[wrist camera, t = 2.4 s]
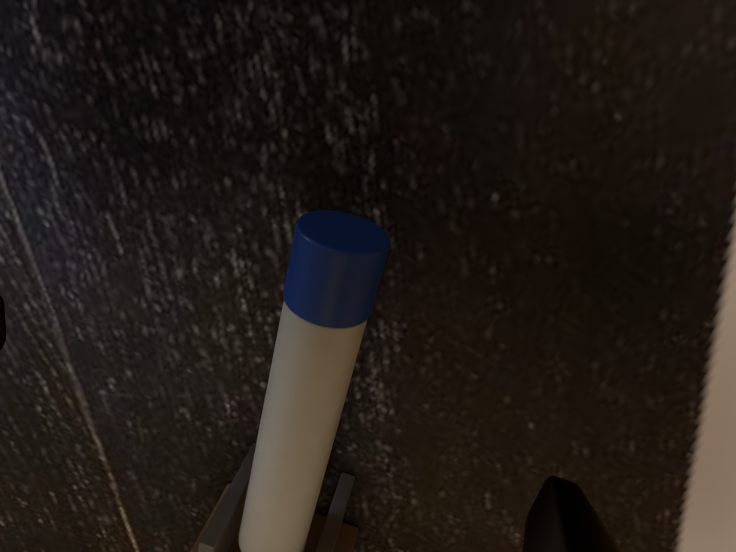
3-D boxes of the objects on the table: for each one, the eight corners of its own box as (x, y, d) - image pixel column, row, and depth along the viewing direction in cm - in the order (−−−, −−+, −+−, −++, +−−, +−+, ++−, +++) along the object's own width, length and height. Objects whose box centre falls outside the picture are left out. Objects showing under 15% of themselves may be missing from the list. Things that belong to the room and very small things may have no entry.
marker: (398, 226, 14) (381, 264, 12) (314, 524, 19) (294, 583, 17) (312, 200, 14) (283, 234, 12) (252, 502, 19) (224, 558, 17)
